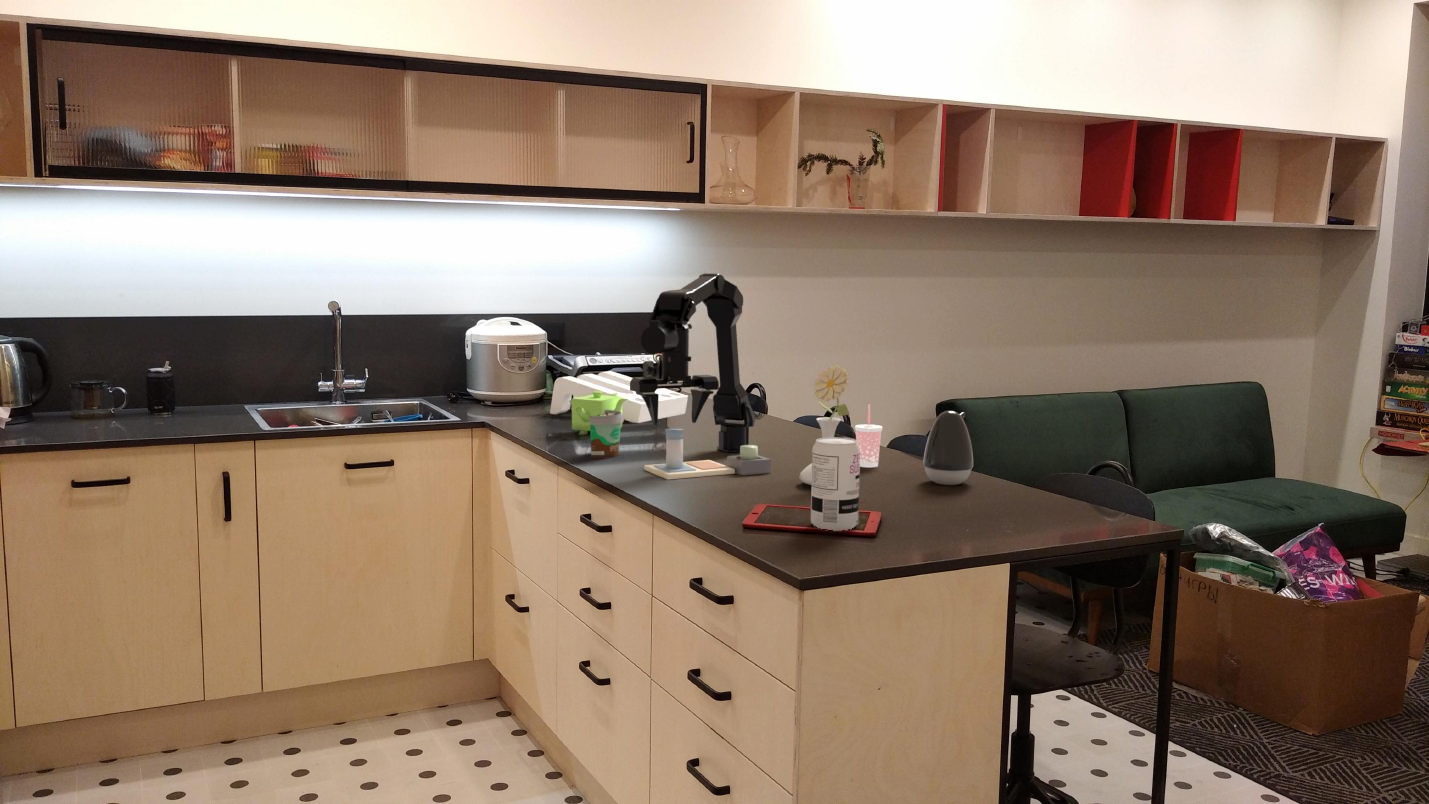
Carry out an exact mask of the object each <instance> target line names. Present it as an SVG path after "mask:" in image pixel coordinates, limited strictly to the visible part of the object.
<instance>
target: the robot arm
mask: <svg viewBox="0 0 1429 804" xmlns="http://www.w3.org/2000/svg"><path fill="white" fill-rule="evenodd" d="M701 303H703V304H704V306H705V307H706V313H707V316H708V319H709V320H710V322H711V323H712V324H713V326H714V328H715V336H716V338H715V339H716V350H717V364H718V376H715V375H710V374H695V375H690V374H689V362H692V356H691V355H689V353H690V352H689V351H690V350H689V349H690V348H689V342H690V341H689V340H690V338H689V337H690V335H689V334H690V330H692V329H693V326H692V324H691V323H690V319H691V318H692V317H693V316H694V315H695V313H696V312H697V307H696V306H698V305H700V304H701ZM743 305H744V297H743V294H742V292H741V291H740V289H739V287H738V286H737V285H735V284H734V283H732V282H730V281H728V280H726V278H725V277H724V275H722V274H720V273H708V272H707V273H705V272H704V273H702V274H700V275H699V276H698V278H696V279H694V280H693V281H691V282H689V283H688V284H686V285H684V286H683V287H682V288H680V289H671V290H665V291H662V292H661V293H660V294H659V295H658V297H657V298H656V301H655V304H654V307H653V310H652V313H651V316H650V319H649V326H648V327H646V328H645V329H643V332H642V333H641V336H640V344H641V346H642V348H643V350H644V351H645V352H646V353H648V354H650V355H658V354H659V355H658V361H657V363H655V362H654V361H653V360H645V361H644V362H643V363H642V374H643V376H640V377H639V376H637V377H635V376H634V377H631V378H632V380H631V381H630V390H631V391H635V392H636V394H637V395H641V397H642V398H643V399H644V401H645V403H646V405H647V408H648V411H649V414H650V417H651V419H652V420H651V422H652V424H653V426H657V425H658V420H659V419H658V400H659V394H656V393H655V391H656V390H657V389H661V388H665V389H679V388H681V389H682V388H690V394H691V397H692V399H691V423H693V424H695V423H697V421H698V418H699V416H700V414H701V412H702V409H703V407H704V405H705V403H706V402H707V400H708V399H709V396H711V395H713V397H712V403H713V405H712V412H713V418H714V425H715V426H720V430H719V431H718V446H717V447H716V448H717V450H719V451H723V452H726V453H740V446H742V445H750V442H749V441H750V428H752V427H754V426H755V423H756V415H755V413H754V411H753V408H752V405H751V403H750V402H749V397H748V396H749V395H748V392H747V391H746V390H745V387H743V385H742V383H741V378H740V364H739V351H738V349H739V348H738V336H737V335H738V334H737V323H738V321H739V319H740V317H741V315H742V314H743ZM718 377H719V378H718ZM714 391H716V393H715V392H714Z"/></svg>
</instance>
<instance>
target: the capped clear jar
mask: <svg viewBox="0 0 1429 804" xmlns="http://www.w3.org/2000/svg"><path fill="white" fill-rule="evenodd" d="M684 431H685V430H684V429H683V428H677V427H676V428H674V427H673V428H665V441H666V443H665V445H666V448H665V449H666V451H665V452H666V453H665V456H666V457H665V458H666V459H665V461H666V462H665V463H666V468H669V469H680V468H683V462H684V436H685V435H684V433H685V432H684Z"/></svg>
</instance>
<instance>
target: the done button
mask: <svg viewBox="0 0 1429 804" xmlns="http://www.w3.org/2000/svg"><path fill="white" fill-rule="evenodd" d="M758 451H759V446H758V445H755V444H754V445H753V444H749V445H742V446H740V452H739V453H740V454H739V455H740V459H743V460H754V459H758V455H759V452H758Z"/></svg>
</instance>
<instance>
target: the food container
mask: <svg viewBox="0 0 1429 804" xmlns="http://www.w3.org/2000/svg"><path fill="white" fill-rule="evenodd" d="M624 421H625V420H624V419H623V415H622V414H621V412H620V411H615V410H605V411H604V414H602V415H597V416H590V421H589V425H590V431H589V432H590V455H591V456H590V458H591V459H608V458H615V457H618V456H619V454H620V452H619V451H620V443H621V442H620V441H621V428H622V427H621V423H622V424H623V423H624Z"/></svg>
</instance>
